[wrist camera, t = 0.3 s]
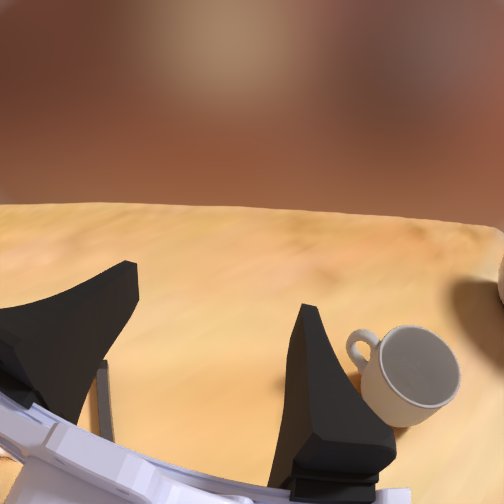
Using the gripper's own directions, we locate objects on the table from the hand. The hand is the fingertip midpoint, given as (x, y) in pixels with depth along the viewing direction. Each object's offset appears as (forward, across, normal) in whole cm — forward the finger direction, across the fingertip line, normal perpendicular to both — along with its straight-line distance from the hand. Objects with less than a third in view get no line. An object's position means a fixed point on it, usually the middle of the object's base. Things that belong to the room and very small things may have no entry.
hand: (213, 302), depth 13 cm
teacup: (+13, -18, +21) cm, 30 cm away
